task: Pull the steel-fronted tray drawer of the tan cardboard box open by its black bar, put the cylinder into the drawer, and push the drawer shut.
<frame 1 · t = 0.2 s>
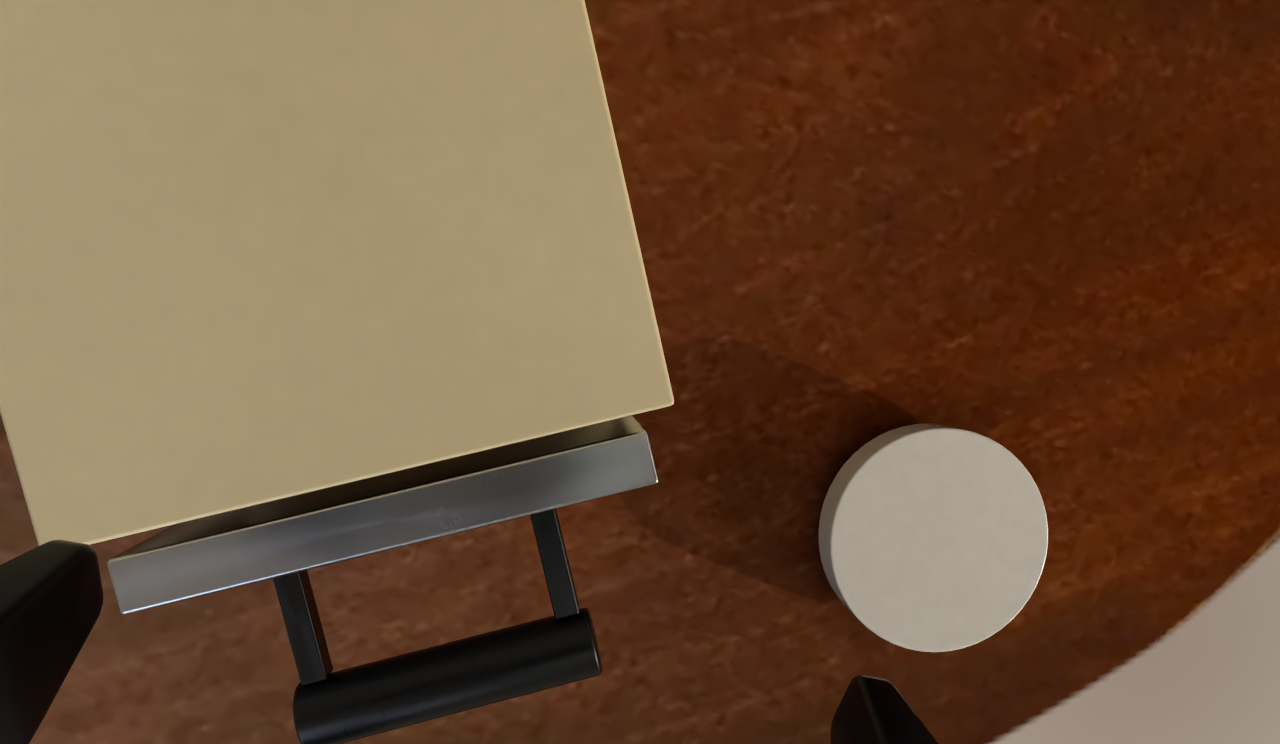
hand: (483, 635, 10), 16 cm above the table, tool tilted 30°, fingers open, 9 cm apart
cylinder: (915, 526, 27), on the table
tan cardboard box: (371, 184, 25), on the table
drawer: (378, 339, 21), point 4 cm above the table, slide at 0.5 cm
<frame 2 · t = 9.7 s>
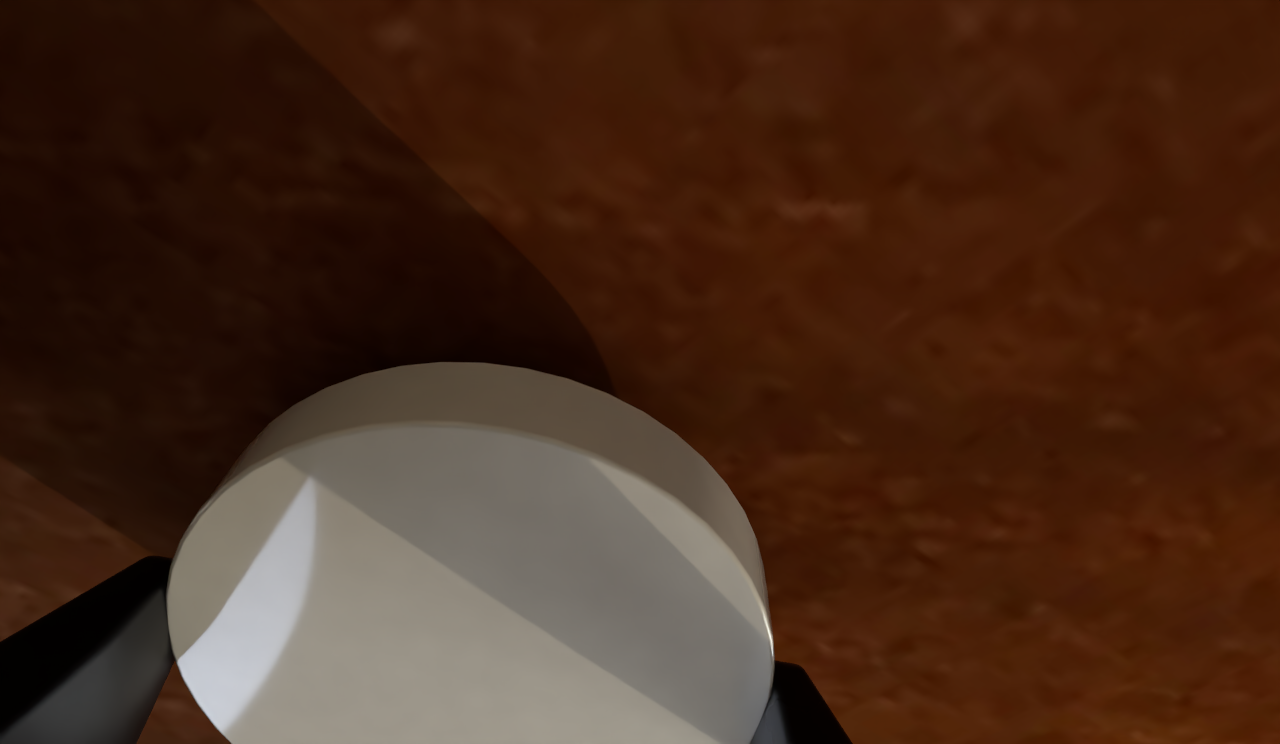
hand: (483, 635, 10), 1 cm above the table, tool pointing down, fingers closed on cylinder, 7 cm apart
cylinder: (499, 563, 11), on the table, touching gripper
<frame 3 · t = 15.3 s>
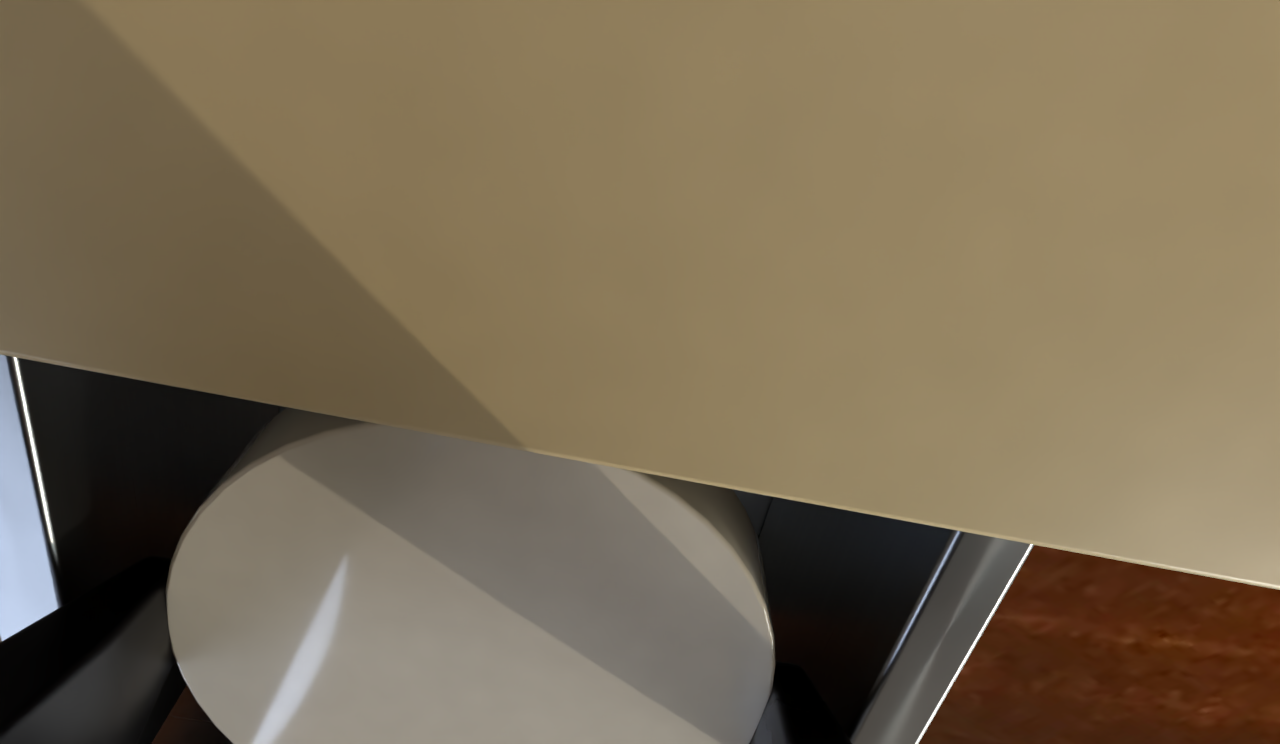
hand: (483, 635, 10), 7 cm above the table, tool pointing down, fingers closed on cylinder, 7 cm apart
cylinder: (499, 561, 11), point 5 cm above the table, touching gripper
drawer: (502, 583, 13), point 4 cm above the table, slide at 8.9 cm, touching gripper
when the fingers open (8 cm above the table, at t = 26.4 s): cylinder drops 5 cm, resting on drawer.
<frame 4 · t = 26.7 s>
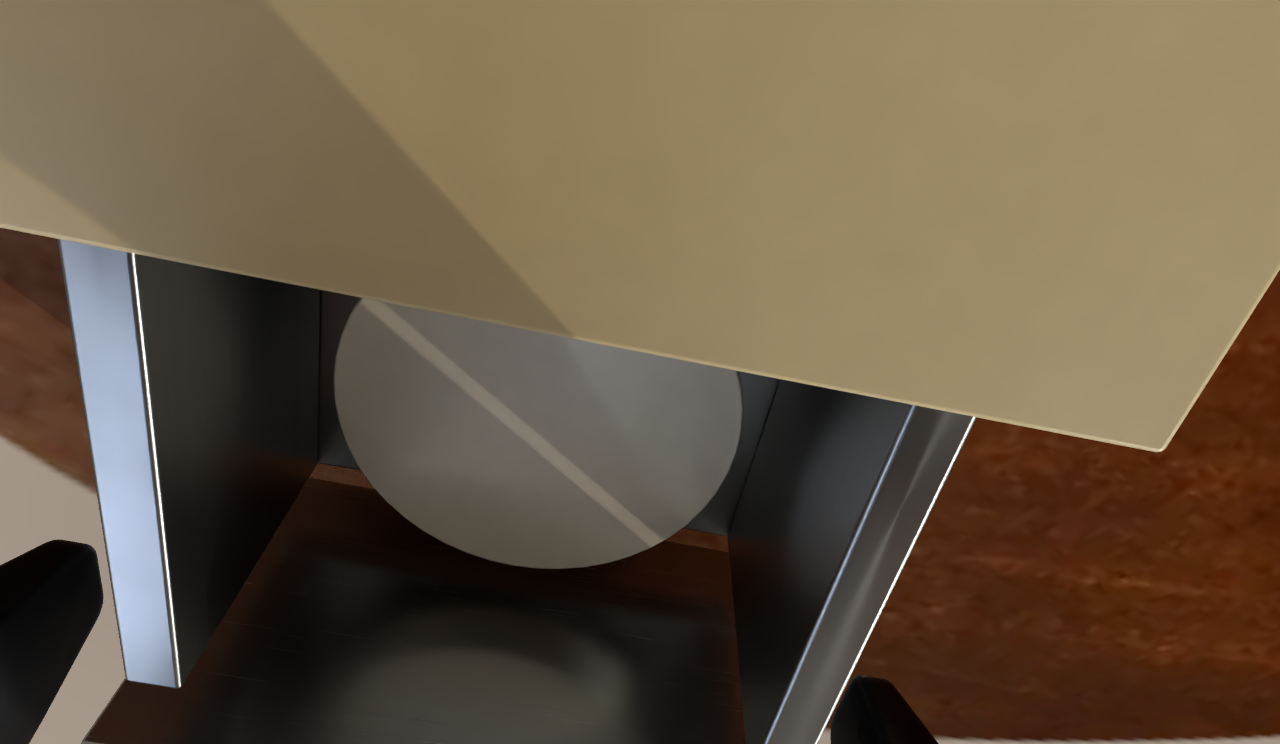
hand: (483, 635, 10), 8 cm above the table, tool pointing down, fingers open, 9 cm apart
cylinder: (551, 364, 16), point 2 cm above the table, touching drawer
drawer: (521, 498, 14), point 4 cm above the table, slide at 8.8 cm, touching cylinder
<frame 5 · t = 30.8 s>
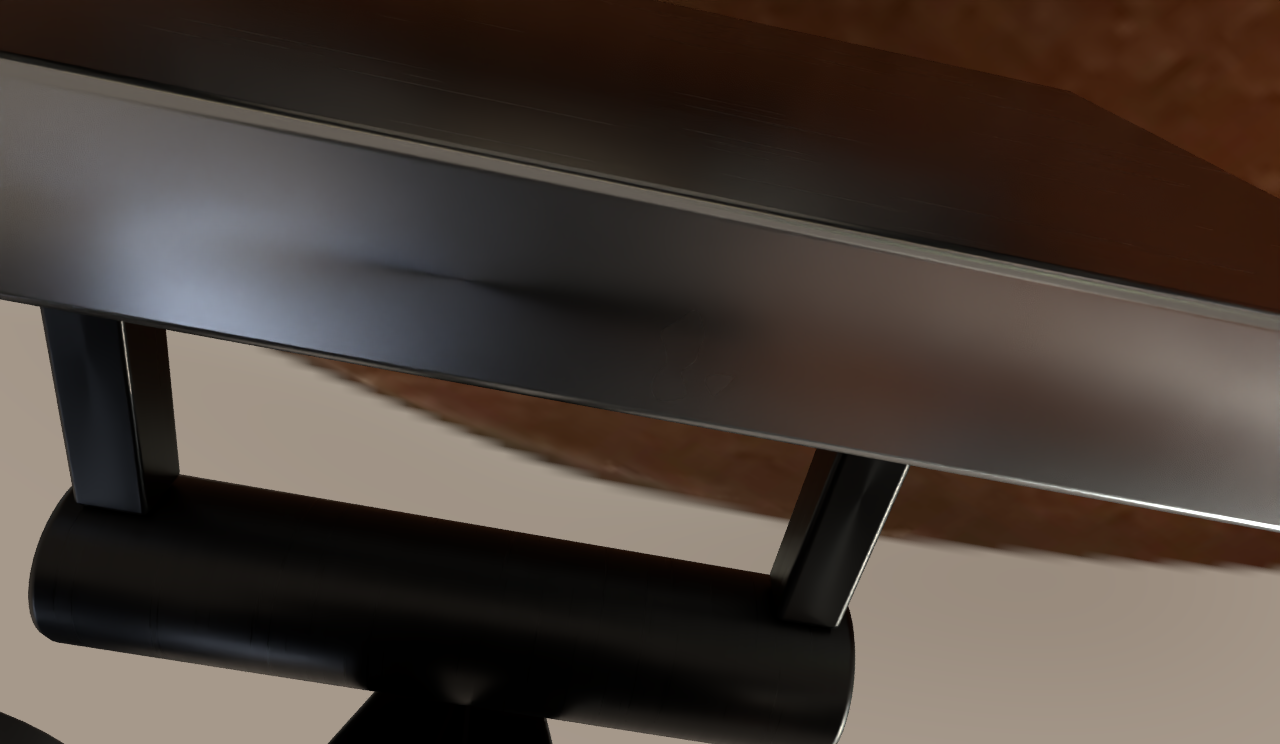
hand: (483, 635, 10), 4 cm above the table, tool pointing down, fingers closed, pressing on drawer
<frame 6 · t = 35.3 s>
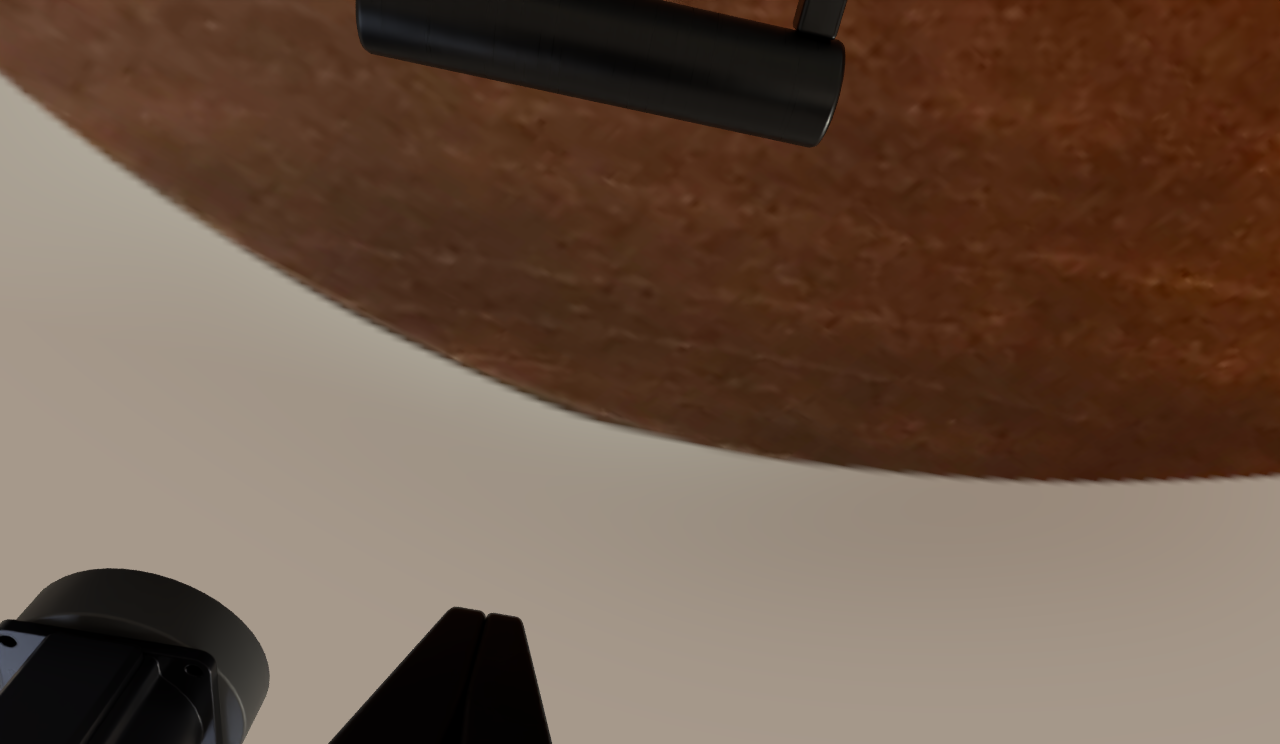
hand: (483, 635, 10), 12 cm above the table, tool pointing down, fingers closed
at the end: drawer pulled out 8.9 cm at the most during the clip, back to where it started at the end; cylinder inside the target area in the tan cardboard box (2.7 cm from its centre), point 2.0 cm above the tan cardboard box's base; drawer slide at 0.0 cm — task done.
